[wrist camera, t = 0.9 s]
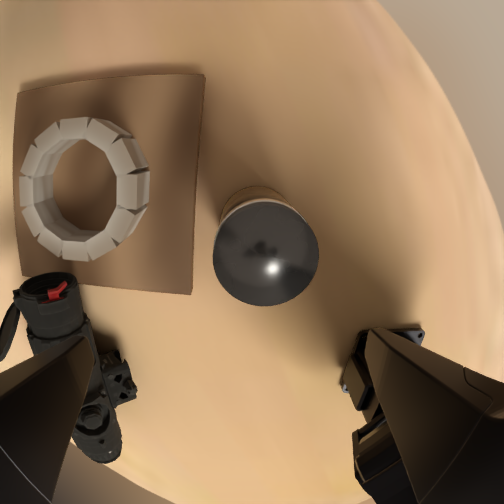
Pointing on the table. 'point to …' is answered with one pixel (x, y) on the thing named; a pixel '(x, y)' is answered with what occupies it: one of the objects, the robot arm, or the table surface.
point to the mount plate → (109, 180)
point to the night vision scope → (58, 330)
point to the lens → (263, 248)
